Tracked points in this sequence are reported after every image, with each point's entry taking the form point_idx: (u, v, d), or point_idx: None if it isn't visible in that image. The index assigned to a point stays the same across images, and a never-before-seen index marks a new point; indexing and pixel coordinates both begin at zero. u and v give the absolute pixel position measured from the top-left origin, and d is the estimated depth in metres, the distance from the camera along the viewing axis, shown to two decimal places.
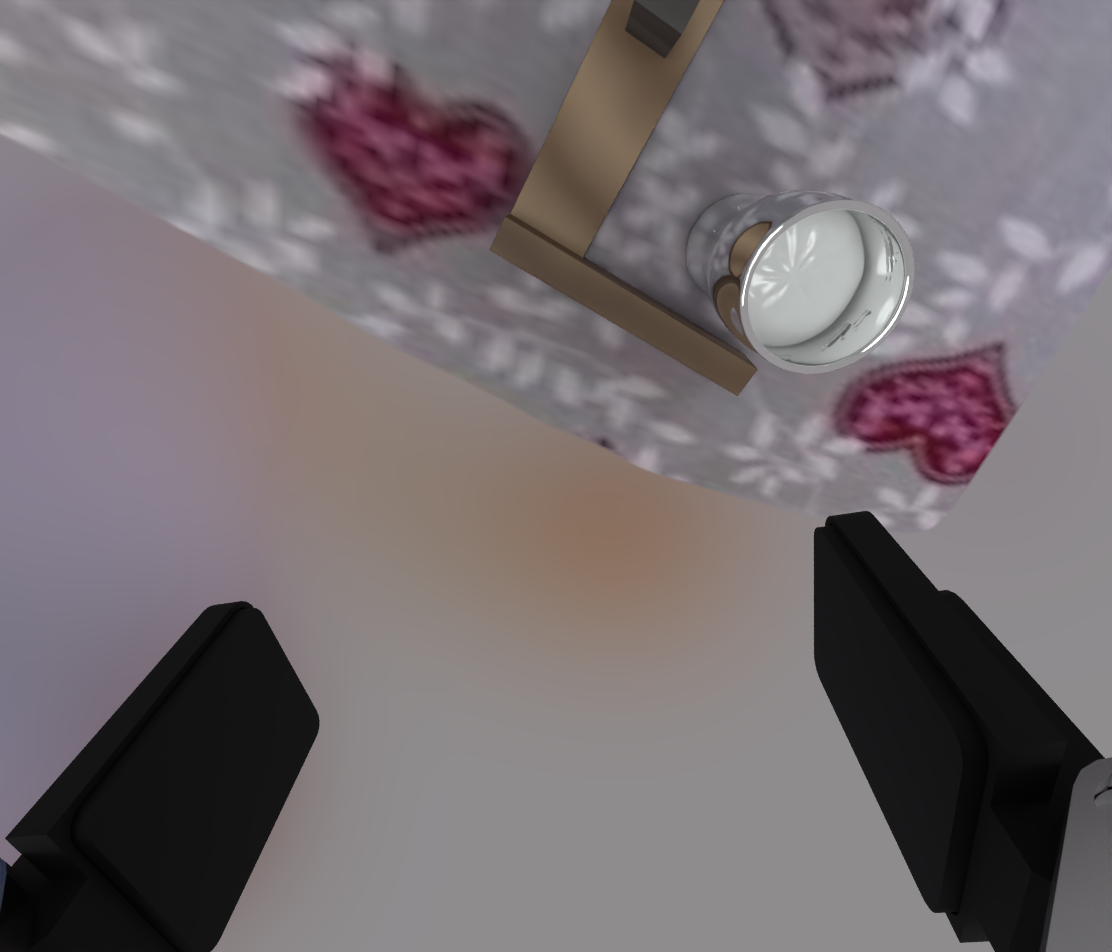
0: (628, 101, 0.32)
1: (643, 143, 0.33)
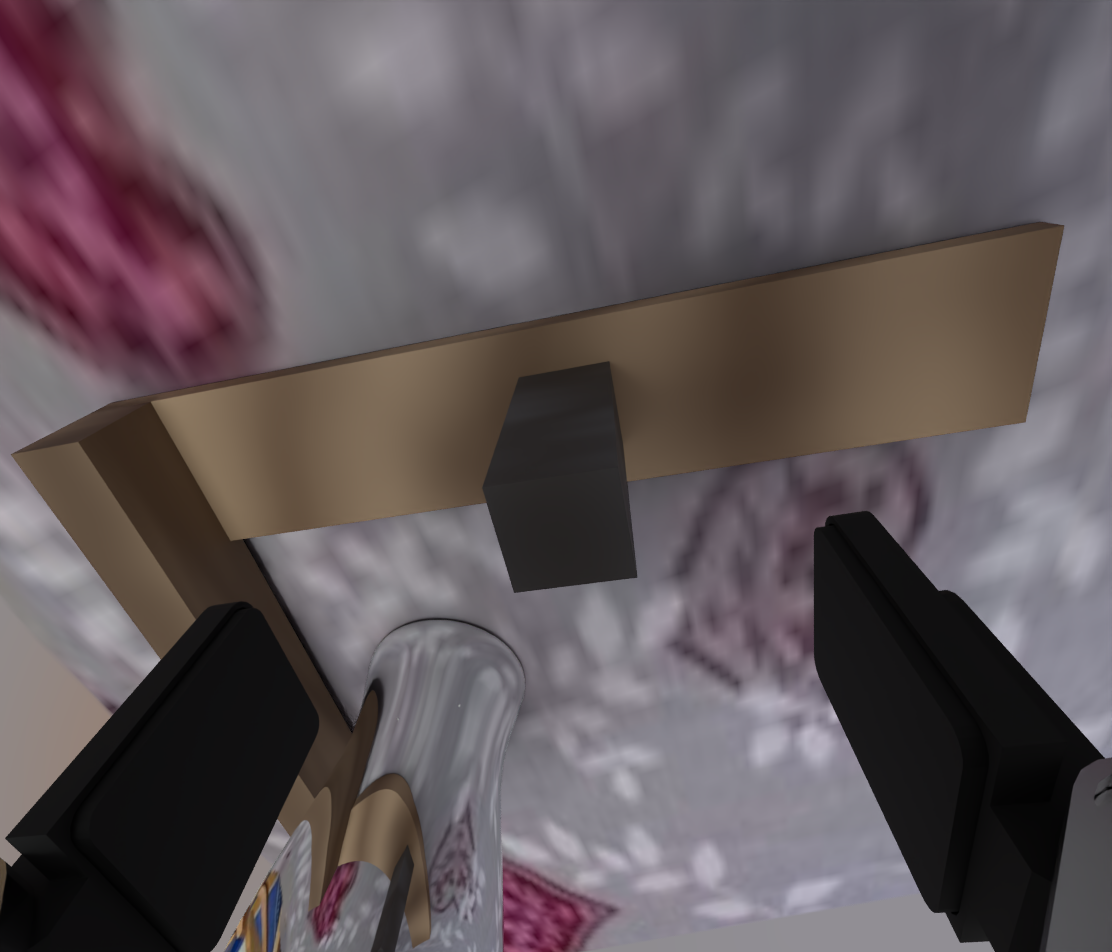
0: (449, 452, 0.17)
1: (427, 508, 0.18)
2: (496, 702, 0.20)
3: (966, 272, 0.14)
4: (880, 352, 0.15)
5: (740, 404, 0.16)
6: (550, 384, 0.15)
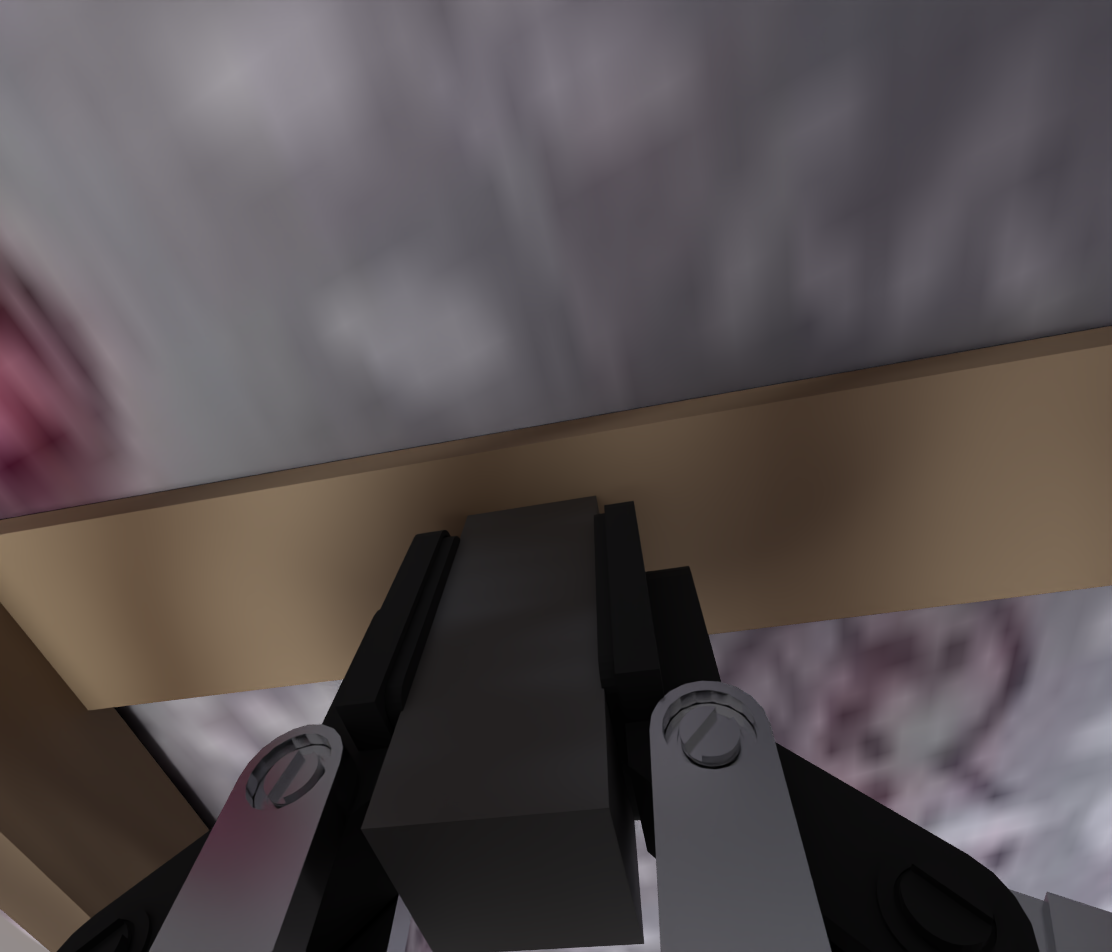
0: (375, 608, 0.12)
1: None
2: None
3: None
4: (985, 486, 0.10)
5: (781, 551, 0.11)
6: (510, 537, 0.10)
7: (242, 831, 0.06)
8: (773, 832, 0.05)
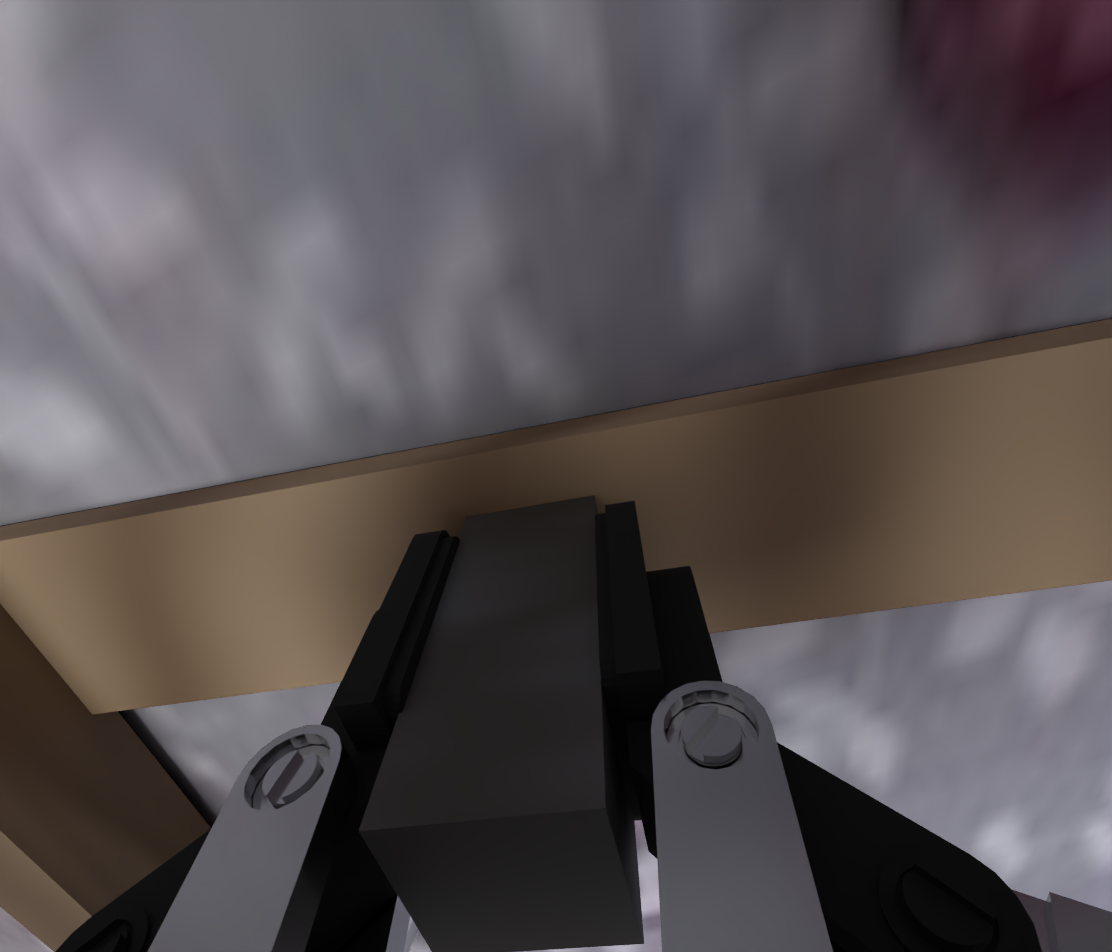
0: (375, 609, 0.12)
1: None
2: None
3: None
4: (985, 482, 0.10)
5: (781, 550, 0.11)
6: (508, 537, 0.10)
7: (240, 831, 0.06)
8: (775, 832, 0.05)
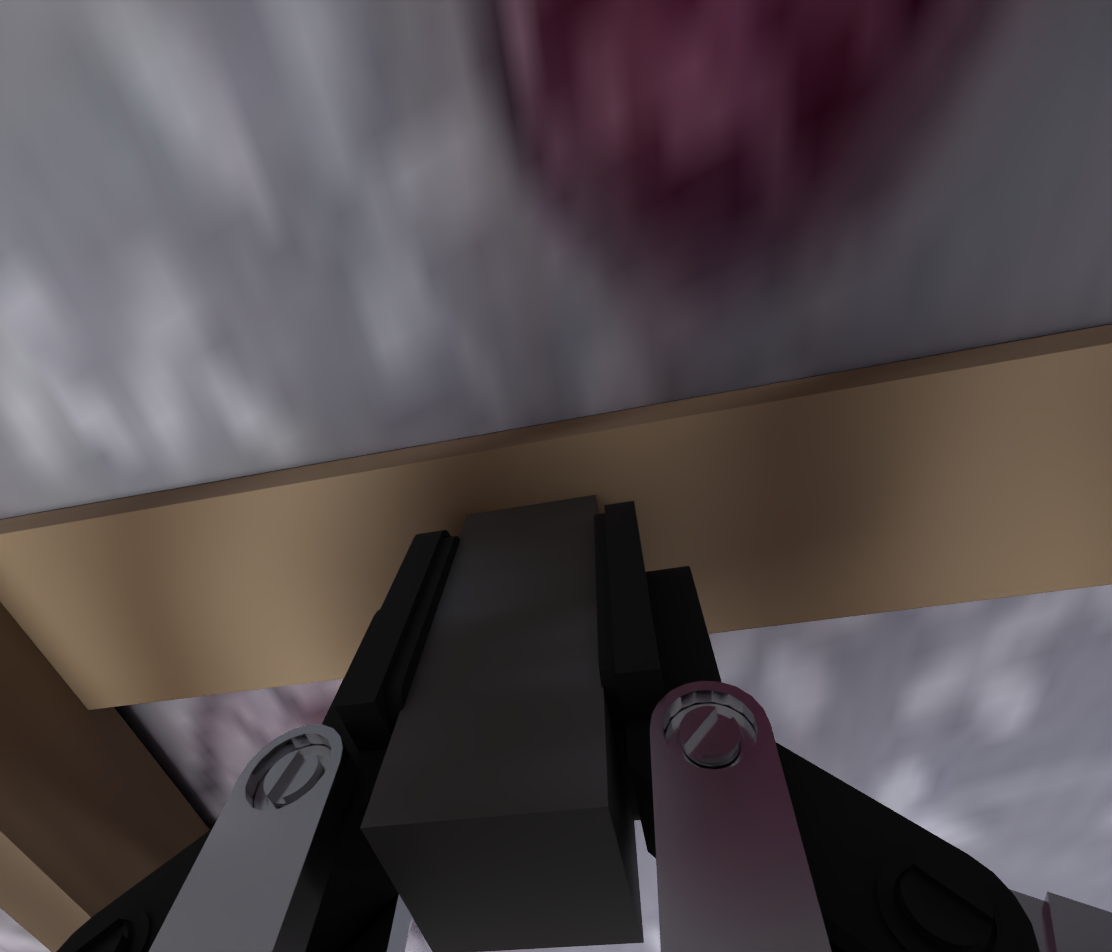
0: (375, 607, 0.12)
1: None
2: None
3: None
4: (985, 485, 0.10)
5: (781, 551, 0.11)
6: (509, 536, 0.10)
7: (242, 831, 0.06)
8: (773, 833, 0.05)
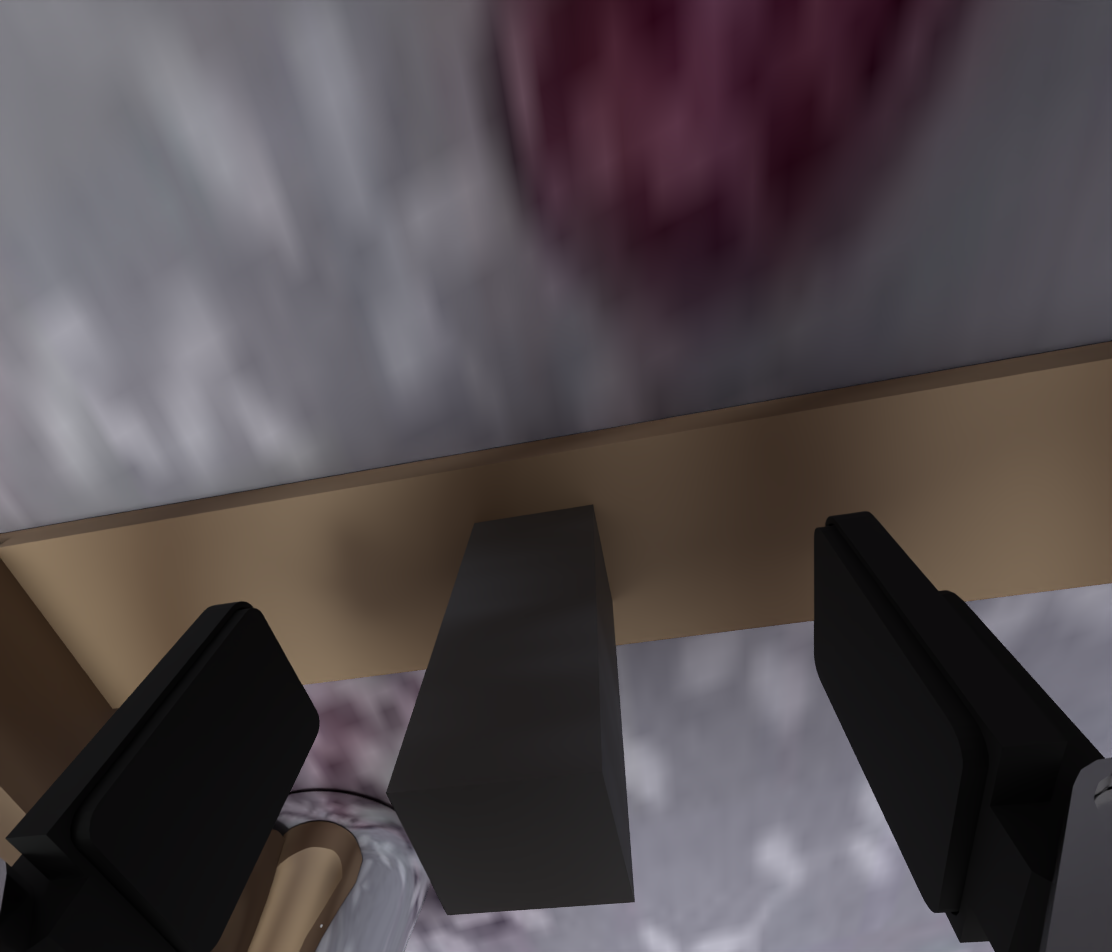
0: (387, 610, 0.13)
1: (362, 674, 0.14)
2: (380, 906, 0.16)
3: (1069, 399, 0.10)
4: (950, 496, 0.11)
5: (765, 557, 0.12)
6: (513, 542, 0.11)
7: None
8: None
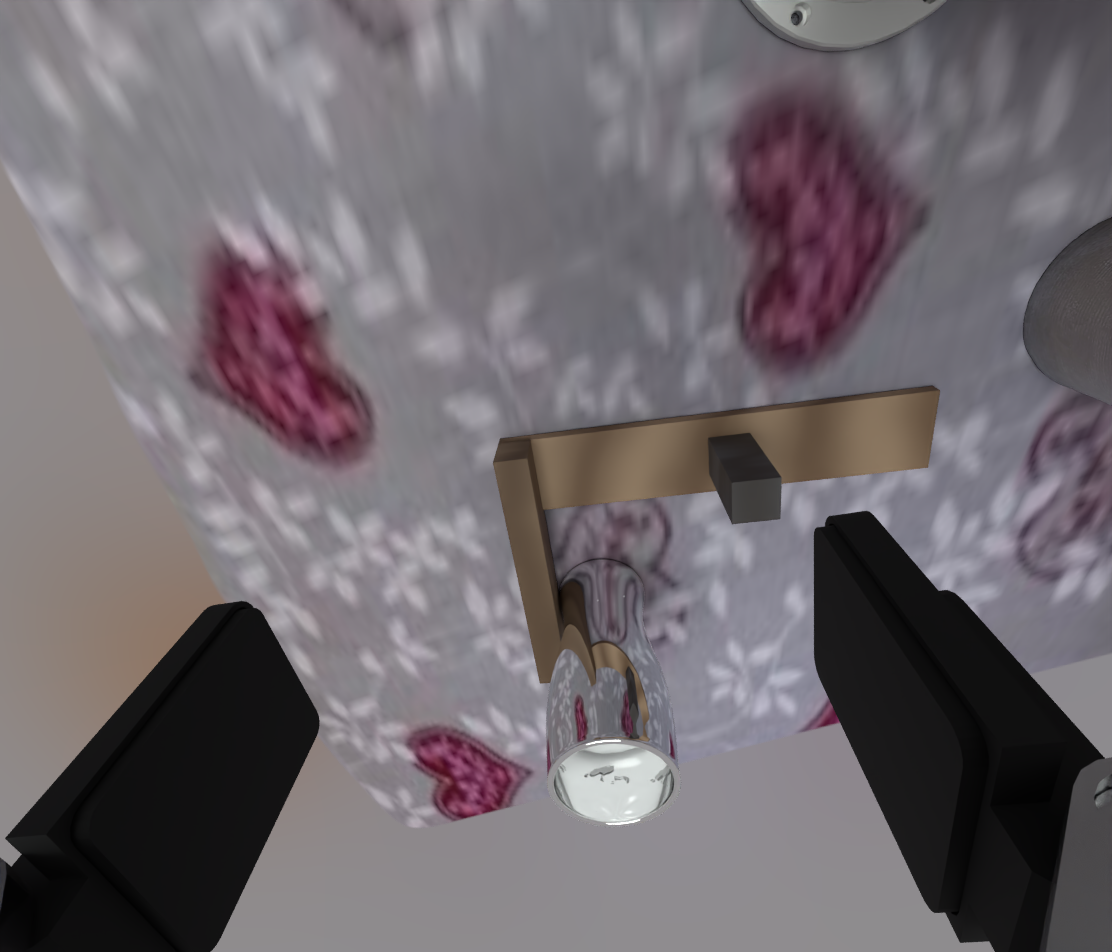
0: (667, 470, 0.36)
1: (649, 497, 0.37)
2: (637, 598, 0.39)
3: (902, 405, 0.34)
4: (866, 435, 0.35)
5: (805, 454, 0.35)
6: (727, 442, 0.34)
7: None
8: None
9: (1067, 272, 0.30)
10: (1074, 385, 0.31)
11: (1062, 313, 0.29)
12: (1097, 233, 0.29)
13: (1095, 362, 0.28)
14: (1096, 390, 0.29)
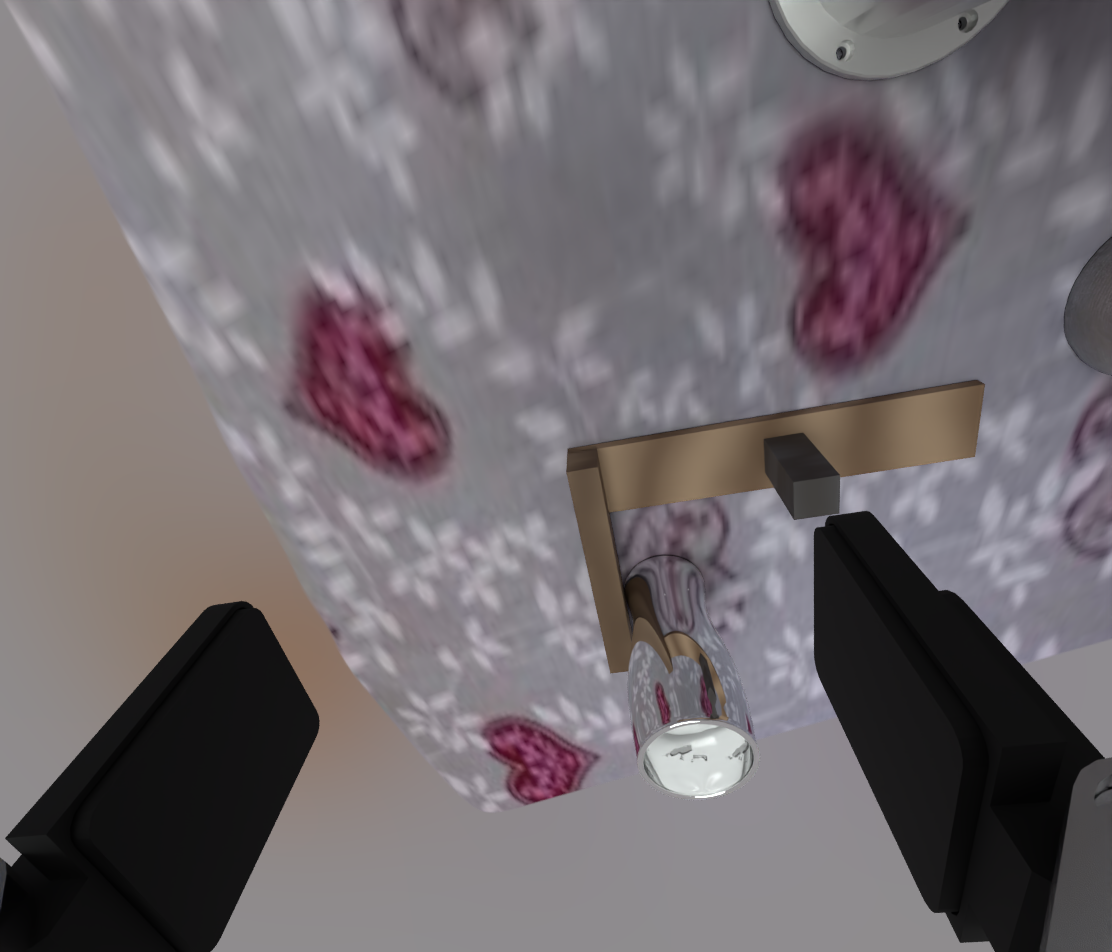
0: (725, 470, 0.39)
1: (708, 496, 0.40)
2: (700, 590, 0.41)
3: (948, 399, 0.36)
4: (915, 429, 0.37)
5: (856, 449, 0.38)
6: (783, 442, 0.36)
7: None
8: None
9: (1105, 269, 0.31)
10: None
11: (1102, 308, 0.31)
12: None
13: None
14: None
